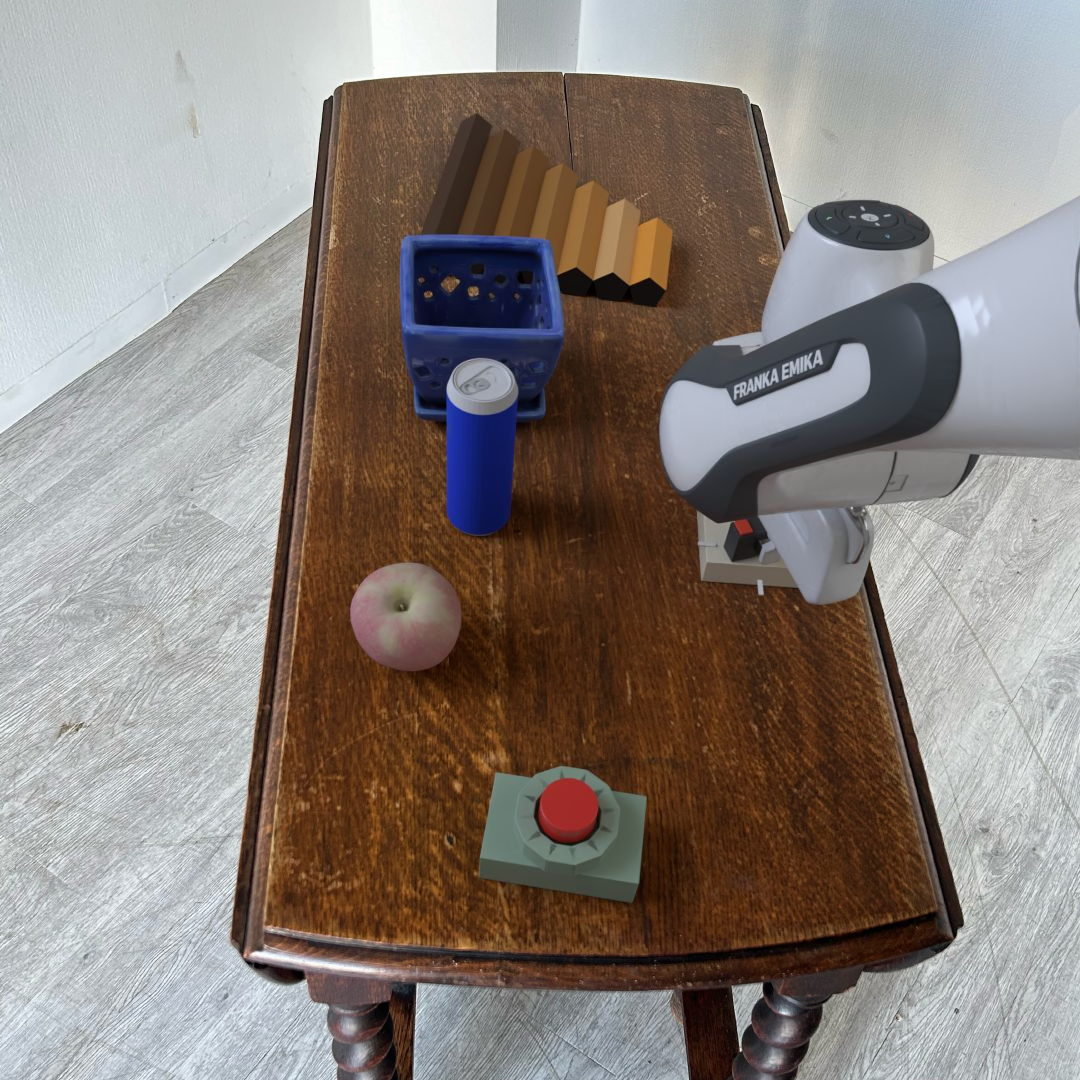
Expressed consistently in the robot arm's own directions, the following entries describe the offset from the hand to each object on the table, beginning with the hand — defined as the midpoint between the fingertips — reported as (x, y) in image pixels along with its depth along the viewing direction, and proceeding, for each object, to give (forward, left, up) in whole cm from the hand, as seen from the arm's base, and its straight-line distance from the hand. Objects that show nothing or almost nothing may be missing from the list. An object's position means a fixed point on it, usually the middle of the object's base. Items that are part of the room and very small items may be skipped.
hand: (758, 542), depth 87 cm
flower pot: (+27, +12, -4) cm, 30 cm away
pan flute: (+48, -6, -4) cm, 49 cm away
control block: (-15, +24, -3) cm, 29 cm away
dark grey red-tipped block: (0, 0, -1) cm, 1 cm away
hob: (+5, -3, -3) cm, 7 cm away
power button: (-15, +24, +1) cm, 29 cm away
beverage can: (+13, +18, -4) cm, 23 cm away
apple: (+3, +28, -4) cm, 28 cm away
